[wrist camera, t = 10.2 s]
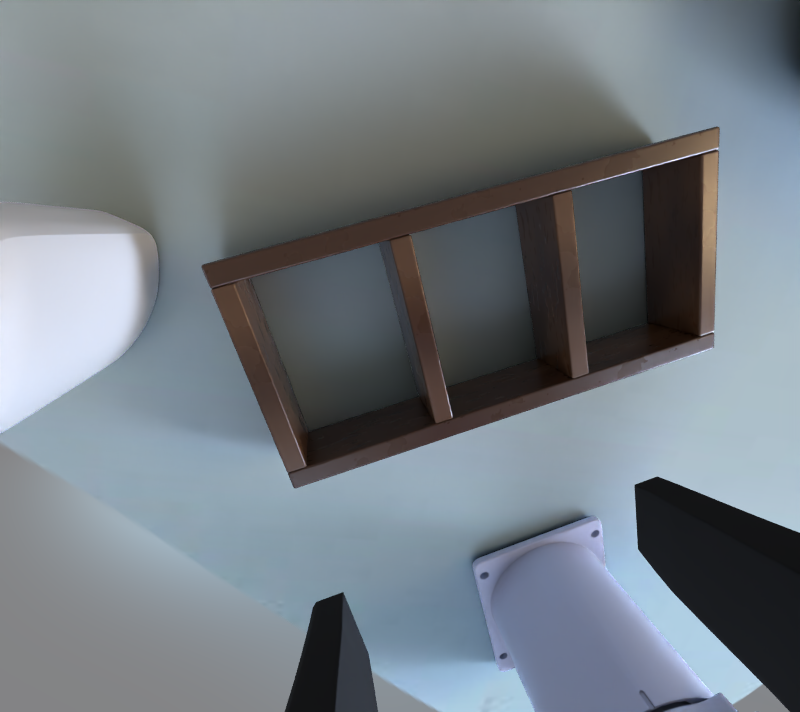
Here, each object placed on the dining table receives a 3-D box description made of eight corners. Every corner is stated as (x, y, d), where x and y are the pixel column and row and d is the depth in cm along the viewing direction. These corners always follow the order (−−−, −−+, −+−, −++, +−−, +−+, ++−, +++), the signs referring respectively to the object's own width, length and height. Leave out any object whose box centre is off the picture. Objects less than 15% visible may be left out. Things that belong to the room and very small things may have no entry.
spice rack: (661, 332, 21) (714, 348, 18) (297, 450, 19) (294, 489, 16) (656, 142, 18) (720, 125, 15) (221, 259, 16) (200, 265, 13)
